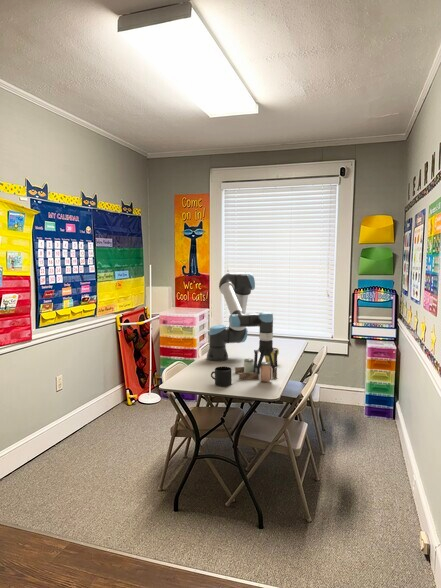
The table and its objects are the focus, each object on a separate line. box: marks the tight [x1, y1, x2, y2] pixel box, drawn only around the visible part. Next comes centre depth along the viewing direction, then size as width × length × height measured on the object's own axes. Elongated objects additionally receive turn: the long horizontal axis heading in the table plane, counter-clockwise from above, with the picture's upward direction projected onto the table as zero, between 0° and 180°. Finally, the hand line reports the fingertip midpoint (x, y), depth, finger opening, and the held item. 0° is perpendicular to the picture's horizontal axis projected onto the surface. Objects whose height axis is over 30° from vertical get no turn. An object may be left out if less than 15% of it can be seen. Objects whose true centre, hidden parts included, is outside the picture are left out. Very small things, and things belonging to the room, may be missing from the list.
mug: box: [210, 366, 232, 388], centre depth 228 cm, size 9×12×9 cm
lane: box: [234, 362, 278, 380], centre depth 246 cm, size 22×14×6 cm, turn 98°
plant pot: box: [264, 347, 280, 364], centre depth 274 cm, size 10×10×10 cm
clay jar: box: [260, 361, 271, 383], centre depth 233 cm, size 6×6×10 cm
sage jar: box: [243, 358, 254, 373], centre depth 245 cm, size 6×6×10 cm
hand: (265, 378), depth 233 cm, fingers closed on clay jar, 6 cm apart
